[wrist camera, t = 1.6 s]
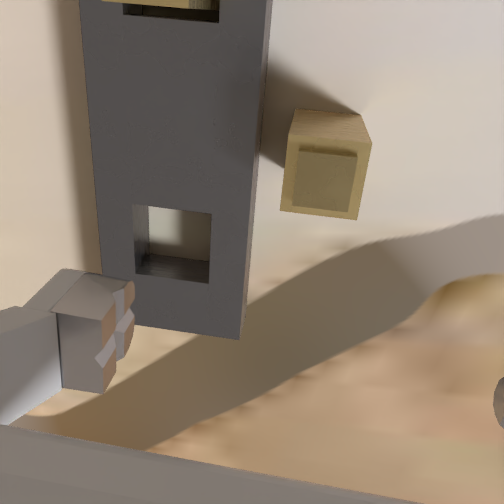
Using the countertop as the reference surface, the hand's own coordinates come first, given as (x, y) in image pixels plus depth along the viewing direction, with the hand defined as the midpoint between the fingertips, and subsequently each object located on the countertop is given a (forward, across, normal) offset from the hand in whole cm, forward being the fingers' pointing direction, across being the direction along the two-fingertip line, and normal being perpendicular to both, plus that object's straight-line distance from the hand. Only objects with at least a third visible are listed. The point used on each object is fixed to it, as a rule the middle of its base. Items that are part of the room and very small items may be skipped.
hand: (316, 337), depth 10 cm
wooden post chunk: (+21, -1, +1) cm, 21 cm away
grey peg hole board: (+21, +8, 0) cm, 23 cm away
